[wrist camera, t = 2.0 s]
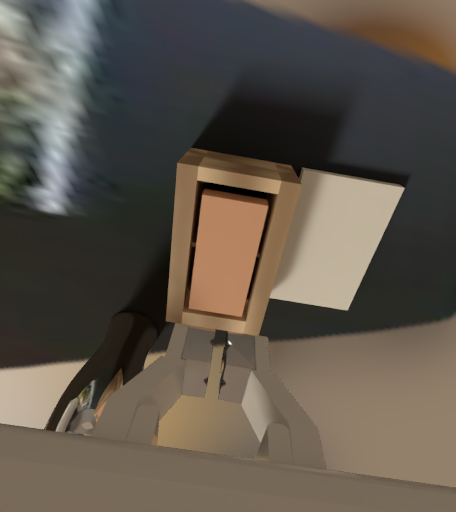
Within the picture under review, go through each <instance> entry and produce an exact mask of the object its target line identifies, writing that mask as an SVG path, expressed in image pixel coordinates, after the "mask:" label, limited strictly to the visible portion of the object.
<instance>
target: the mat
mask: <svg viewBox="0 0 456 512" xmlns="http://www.w3.org/2000/svg"><path fill="white" fill-rule="evenodd" d="M299 180H300V182H301V183H302V187H301V190H300V194H299V197H298V201H297V204H296V208H295V211H294V215H293V218H292V221H291V225H290V228H289V232H288V235H287V239H286V242H285V246H284V249H283V253H282V256H281V259H280V263H279V266H278V270H277V273H276V277H275V280H274V284H273V287H272V291H271V294H270V297H269V298H274V299H280V300H286V301H293V302H299V303H305V304H311V305H317V306H323V307H330V308H336V309H342V310H348V308H349V306H350V304H351V302H352V300H353V298H354V295H355V293H356V291H357V289H358V287H359V285H360V283H361V280H362V278H363V276H364V274H365V272H366V270H367V268H368V265H369V263H370V261H371V259H372V257H373V255H374V253H375V250H376V248H377V246H378V244H379V242H380V240H381V238H382V235H383V233H384V231H385V229H386V227H387V225H388V223H389V221H390V218H391V216H392V214H393V212H394V210H395V208H396V206H397V203H398V201H399V199H400V197H401V195H402V193H403V191H404V187H403V186H401V185H399V184H393V183H388V182H382V181H376V180H371V179H365V178H359V177H354V176H348V175H342V174H337V173H331V172H325V171H320V170H314V169H308V168H303V167H302V169H301V173H300V177H299Z"/></svg>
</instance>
